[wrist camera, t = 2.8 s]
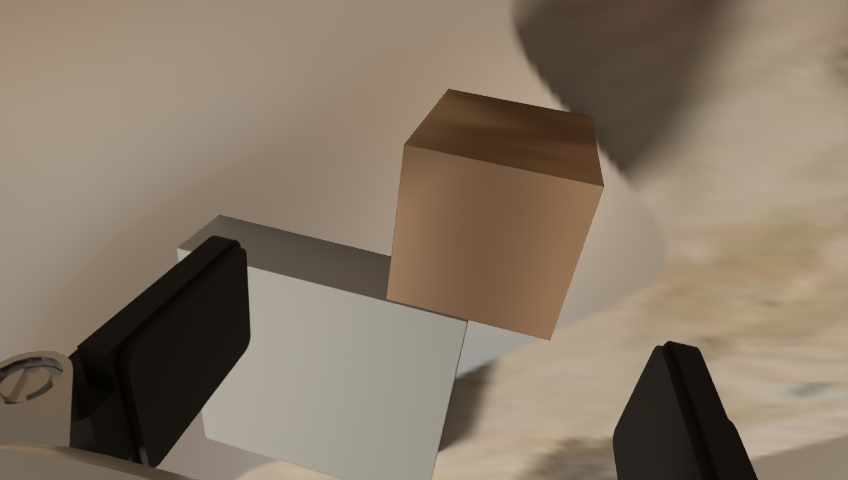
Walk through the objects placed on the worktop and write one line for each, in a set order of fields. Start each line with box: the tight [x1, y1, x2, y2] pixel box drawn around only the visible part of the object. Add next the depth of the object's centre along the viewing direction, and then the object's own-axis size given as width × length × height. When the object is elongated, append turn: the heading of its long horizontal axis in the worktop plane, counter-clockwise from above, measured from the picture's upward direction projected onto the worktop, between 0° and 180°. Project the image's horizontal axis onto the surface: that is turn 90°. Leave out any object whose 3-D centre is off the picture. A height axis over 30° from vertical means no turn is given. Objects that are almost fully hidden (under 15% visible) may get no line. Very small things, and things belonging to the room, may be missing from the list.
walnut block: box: [387, 89, 604, 340], centre depth 16 cm, size 5×5×6 cm
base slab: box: [177, 215, 468, 480], centre depth 24 cm, size 12×12×3 cm
